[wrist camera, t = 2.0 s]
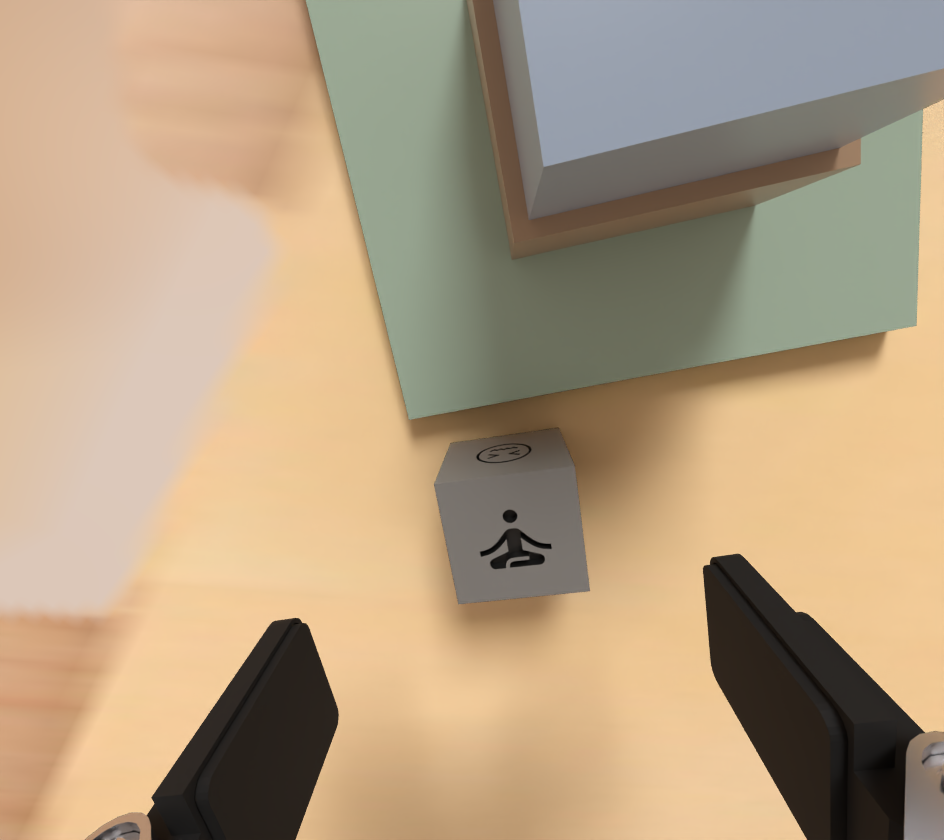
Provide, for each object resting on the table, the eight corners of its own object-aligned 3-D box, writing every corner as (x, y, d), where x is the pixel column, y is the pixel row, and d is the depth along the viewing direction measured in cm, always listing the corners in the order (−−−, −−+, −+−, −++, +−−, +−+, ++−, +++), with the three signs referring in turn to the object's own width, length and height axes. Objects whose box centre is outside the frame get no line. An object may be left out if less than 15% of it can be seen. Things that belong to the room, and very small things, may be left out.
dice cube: (468, 538, 22) (458, 604, 17) (450, 442, 21) (434, 484, 16) (571, 526, 21) (589, 591, 17) (558, 427, 20) (574, 465, 15)
